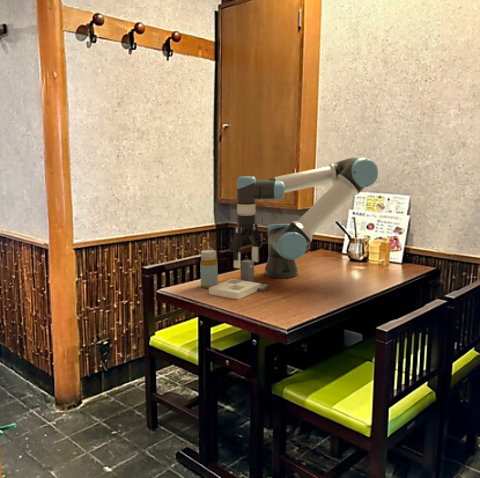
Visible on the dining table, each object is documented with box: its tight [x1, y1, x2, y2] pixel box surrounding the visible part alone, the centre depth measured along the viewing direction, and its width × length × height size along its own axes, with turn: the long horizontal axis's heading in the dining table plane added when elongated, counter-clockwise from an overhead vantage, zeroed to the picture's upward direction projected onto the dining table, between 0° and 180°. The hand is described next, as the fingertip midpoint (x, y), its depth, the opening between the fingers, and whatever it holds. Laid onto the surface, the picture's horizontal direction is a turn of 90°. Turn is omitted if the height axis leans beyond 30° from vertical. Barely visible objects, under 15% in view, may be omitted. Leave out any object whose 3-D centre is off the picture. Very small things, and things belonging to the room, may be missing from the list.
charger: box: [240, 259, 255, 282], centre depth 206 cm, size 4×4×10 cm
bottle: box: [199, 249, 219, 290], centre depth 202 cm, size 7×7×15 cm
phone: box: [256, 283, 269, 292], centre depth 199 cm, size 7×4×1 cm, turn 161°
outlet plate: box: [208, 278, 262, 300], centre depth 195 cm, size 16×14×3 cm
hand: (246, 264), depth 205 cm, fingers open, 13 cm apart
